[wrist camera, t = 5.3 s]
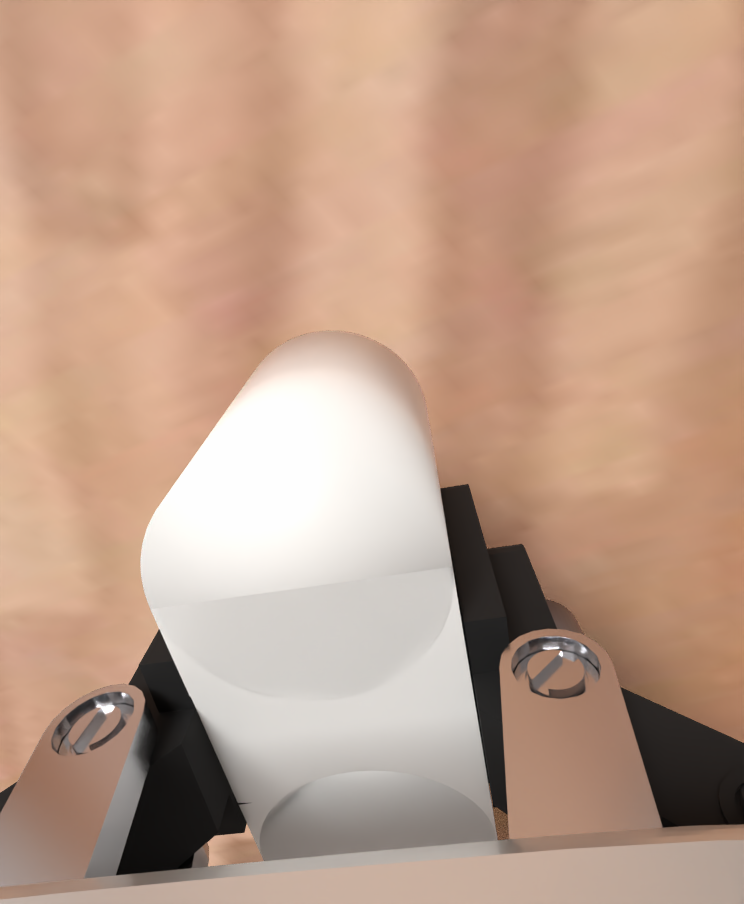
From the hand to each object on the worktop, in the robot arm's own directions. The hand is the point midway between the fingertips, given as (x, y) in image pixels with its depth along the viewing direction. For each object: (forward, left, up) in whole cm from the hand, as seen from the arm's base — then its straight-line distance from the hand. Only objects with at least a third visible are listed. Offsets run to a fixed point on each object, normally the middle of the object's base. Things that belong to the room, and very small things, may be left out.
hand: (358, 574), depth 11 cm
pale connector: (0, 0, -1) cm, 1 cm away
